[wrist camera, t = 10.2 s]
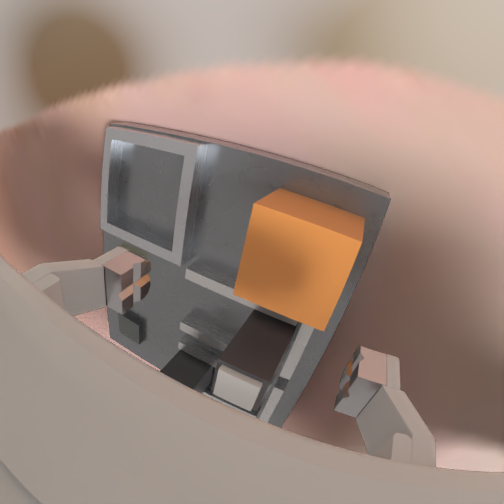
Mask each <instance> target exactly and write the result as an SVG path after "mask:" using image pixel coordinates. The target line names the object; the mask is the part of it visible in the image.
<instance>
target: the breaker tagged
mask: <svg viewBox="0 0 504 504" xmlns="http://www.w3.org/2000/svg"><path fill="white" fill-rule="evenodd" d="M297 325H298V324H297ZM297 325H296V326H294V325H291V324H289V323H287V322H284V321H282V320H279V319H277V318H274V317H272V316H270V315H267V314H265V313H262V312H260V311H258V310H255V309H254V310H253V312H252V313H251V314H250V316H249V317H248V318H247V320H246V321H245V323H244V324H243V325H242V327H241V328H240V329H239V331H238V332H237V333H236V335H235V336H234V337H233V339H232V340H231V342H230V343H229V344H228V346H227V347H226V348H225V350H224V351H223V352H222V354H221V355H220V356H219V358H218V360H217V365H216V369H215V374H214V379H213V383H212V388H211V390H212V391H214V392H213V394H214V395H216V396H218V397H220V398H223V399H225V400H227V401H229V402H231V403H233V404H235V405H237V406H240V407H242V408H244V409H246V410H248V411H251V410H252V409H253V410H255V411H257V410H258V408H259V406H260V404H261V402H262V400H263V398H264V396H265V394H266V392H267V390H268V388H269V386H270V384H271V382H272V380H273V378H274V376H275V374H276V372H277V370H278V368H279V366H280V364H281V362H282V360H283V358H284V356H285V353H286V351H287V349H288V346H289V344H290V342H291V339H292V337H293V334H294V332H295V329H296V327H297Z"/></svg>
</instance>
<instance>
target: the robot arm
mask: <svg viewBox="0 0 504 504" xmlns="http://www.w3.org/2000/svg"><path fill="white" fill-rule="evenodd" d="M150 271H151V262H150V261H149V260H148V259H146V258H144V257H142V256H140V255H138V254H136V253H134V252H132V251H129V250H127V249H125V248H123V247H116V248H114V249H112V250H111V251H109V252H107V253H105V254H103V255H101V256H99V257H97V258H95V259H94V260H91V259H82V260H72V261H61V262H50V263H40V264H38V265H37V266H35V267H33V268H31V269H29V270H27V271H25V272H23V273H22V274H21V273H20V272H18V271H17V270H16V269H15V268H14V267H13V266H12V265H11V264H10V263H9V262H8V261H6V260H5V259H4V258H3V257H2V256H1V255H0V504H504V472H482V471H467V470H455V469H446V468H438V467H436V440H435V438H434V437H433V435H432V434H431V432H430V431H429V429H428V427H427V426H426V424H425V423H424V421H423V420H422V418H421V417H420V415H419V413H418V412H417V410H416V409H415V407H414V406H413V404H412V403H411V401H410V400H409V398H408V397H407V395H406V394H405V392H404V391H401V390H400V362H399V358H398V357H396V356H392V355H389V354H384V353H381V352H378V351H375V350H372V349H369V348H366V347H363V346H360V345H359V346H358V348H357V349H356V351H355V352H354V356H353V361H351V362H349V363H348V364H347V366H346V368H345V370H344V372H343V374H342V377H341V380H340V384H339V388H340V390H341V391H340V392H339V394H338V395H337V398H336V403H335V407H334V411H337V412H340V413H343V414H346V415H349V416H352V417H355V418H356V422H357V424H358V427H359V430H360V433H361V435H362V438H363V441H364V444H365V447H366V449H367V452H368V454H364V453H360V452H356V451H352V450H348V449H345V448H341V447H337V446H334V445H331V444H327V443H324V442H321V441H317V440H314V439H311V438H308V437H305V436H302V435H299V434H296V433H293V432H291V431H288V430H285V429H282V428H280V427H277V426H274V425H272V424H269V423H267V422H264V421H262V420H259V419H257V418H254V417H252V416H249V415H247V414H245V413H242V412H240V411H238V410H235V409H233V408H231V407H229V406H227V405H224V404H222V403H220V402H218V401H216V400H214V399H211V398H209V397H207V396H205V395H203V394H201V393H199V392H197V391H195V390H193V389H191V388H189V387H187V386H185V385H183V384H182V383H180V382H178V381H176V380H174V379H172V378H170V377H168V376H167V375H165V374H163V373H161V372H159V371H158V370H156V369H154V368H152V367H151V366H149V365H147V364H145V363H144V362H142V361H140V360H139V359H137V358H135V357H134V356H132V355H131V354H129V353H127V352H126V351H124V350H122V349H121V348H119V347H118V346H116V345H115V344H113V343H112V342H110V341H109V340H107V339H106V338H104V337H103V336H101V335H100V334H98V333H97V332H95V331H94V330H92V329H91V328H89V327H88V326H87V325H85V324H84V323H82V322H81V321H80V320H78V319H77V318H75V317H74V316H75V315H79V314H82V313H86V312H90V311H93V310H97V309H101V308H104V307H106V306H108V307H109V308H111V309H113V310H115V311H116V312H118V313H120V314H122V315H123V314H124V313H126V312H127V311H128V310H129V309H131V308H132V307H133V305H134V302H137V301H141V300H142V299H143V298H145V296H146V295H147V293H148V292H149V288H150V281H151V280H150V278H149V276H148V273H149V272H150Z"/></svg>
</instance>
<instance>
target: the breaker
mask: <svg viewBox="0 0 504 504" xmlns="http://www.w3.org/2000/svg"><path fill="white" fill-rule="evenodd" d="M212 371H213V366H211V365H209V364H207V363H205V362H203V361H201V360H199V359H198V358H196V357H194V356H192V355H190V354H188V353H186V352H184V351H182V350H180V351H179V352H178V353H177V354H176V355H175V356H174V357H173V358H172V359H171V360H170V361H169V362H168V363H167V364H166V365H165V367H164V368H163V369H162V370H161V371H160V372H161V373H163V374H165V375H167V376H168V377H170V378H172V379H174V380H176V381H178V382H180V383H182V384H183V385H185V386H187V387H189V388H191V389H193V390H195V391H197V392H199V393H201V394H202V393H203V392H204V391H205V389H206V388H207V386H208V385H209V384H210V381H211V376H212Z"/></svg>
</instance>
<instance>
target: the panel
mask: <svg viewBox="0 0 504 504" xmlns="http://www.w3.org/2000/svg"><path fill="white" fill-rule="evenodd" d="M279 188H281V189H284V190H287V191H290V192H293V193H296V194H299V195H302V196H305V197H308V198H311V199H314V200H317V201H320V202H322V203H325V204H328V205H331V206H334V207H336V208H339V209H342V210H345V211H347V212H350V213H353V214H355V215H358V216H361V217H363V218H365V222H364V231H363V240H362V244H361V247H360V249H359V252H358V254H357V257H356V259H355V262H354V264H353V267H352V269H351V272H350V274H349V276H348V279H347V281H346V283H345V286H344V288H343V290H342V293H341V295H340V297H339V299H338V302H337V304H336V306H335V308H334V311H333V313H332V315H331V317H330V319H329V322H328V324H327V326H326V328H325V330H324V331H321V330H318V329H316V328H313V327H311V326H308V325H306V324H303V323H301V322H298V321H296V320H293V319H291V318H288V317H286V316H283V315H281V314H279V313H276V312H274V311H271V310H269V309H266V308H264V307H262V306H259V305H257V304H255V303H252V302H250V301H247V300H245V299H243V298H240V297H238V296H236V295H234V294H233V292H234V287H235V283H236V279H237V274H238V270H239V265H240V261H241V257H242V252H243V248H244V243H245V239H246V235H247V230H248V226H249V222H250V217H251V213H252V209H253V204H254V203H255V202H256V201H258V200H260V199H262V198H263V197H265V196H267V195H269V194H270V193H272V192H274V191H276V190H278V189H279ZM390 200H391V198H390V195H389V193H388V192H386V191H383V190H381V189H378V188H375V187H373V186H370V185H367V184H365V183H362V182H359V181H356V180H354V179H351V178H348V177H345V176H342V175H339V174H336V173H334V172H331V171H328V170H325V169H321V168H318V167H315V166H312V165H309V164H306V163H303V162H299V161H296V160H293V159H289V158H286V157H283V156H279V155H276V154H272V153H269V152H265V151H261V150H258V149H254V148H250V147H246V146H242V145H239V144H235V143H231V142H226V141H222V140H218V139H214V138H209V137H205V136H200V135H196V134H191V133H186V132H181V131H176V130H171V129H166V128H161V127H155V126H149V125H143V124H137V123H131V122H119V123H110V127H106V133H105V142H104V153H103V166H102V183H101V219H100V229H102V230H103V233H104V254H105V253H107V252H109V251H111V250H112V249H114V248H116V247H123V248H125V249H127V250H129V251H132V252H134V253H136V254H138V255H140V256H142V257H144V258H146V259H148V260H149V261H150V262H151V271H150V272H149V273H148V276H149V278H150V280H151V281H150V288H149V292H148V293H147V295H146V296H145V298H143V299H142V300H141V301H137V302H134V305H133V307H132V308H131V309H129V310H128V311H127V312H126V313H124V314H123V315H122V314H120V313H118V312H116V311H115V310H113V309H111V308H109V307H108V306H107V312H108V321H109V330H110V337H111V338H112V339H113V340H115V341H116V342H118V343H119V344H121V345H122V346H124V347H125V348H127V349H129V350H130V351H132V352H133V353H135V354H136V355H138V356H140V357H141V358H143V359H144V360H146V361H148V362H149V363H151V364H153V365H154V366H156V367H158V368H159V369H161V370H162V369H163V368H164V367H165V365H166V364H167V363H168V362H169V361H170V360H171V359H172V358H173V357H174V356H175V355H176V354H177V353H178V352H179V351H180V350H182V351H184V352H186V353H188V354H190V355H192V356H194V357H196V358H198V359H199V360H201V361H203V362H205V363H207V364H209V365H211V366H213V371H212V376H211V381H210V384H209V385H208V386H207V388H206V389H205V391H204V392H203V393H202V394H203V395H205V396H207V397H209V398H211V399H214V400H216V401H218V402H220V403H222V404H224V405H227V406H229V407H231V408H233V409H235V410H238V411H240V412H242V413H245V414H247V415H249V416H252V417H254V418H258V419H259V420H262V421H264V422H267V423H270V424H272V425H274V426H277V427H280V428H281V426H282V425H283V423H284V422H285V420H286V418H287V417H288V415H289V413H290V412H291V410H292V409H293V407H294V405H295V404H296V402H297V400H298V398H299V397H300V395H301V393H302V392H303V390H304V388H305V386H306V385H307V383H308V381H309V379H310V377H311V376H312V374H313V372H314V370H315V368H316V367H317V365H318V363H319V361H320V359H321V357H322V355H323V353H324V352H325V350H326V348H327V346H328V344H329V342H330V340H331V338H332V336H333V334H334V332H335V330H336V328H337V326H338V324H339V322H340V320H341V318H342V316H343V314H344V312H345V309H346V307H347V305H348V303H349V301H350V299H351V297H352V294H353V292H354V290H355V288H356V285H357V283H358V281H359V279H360V276H361V274H362V272H363V269H364V267H365V265H366V262H367V260H368V258H369V255H370V253H371V250H372V248H373V245H374V243H375V240H376V238H377V235H378V233H379V230H380V227H381V225H382V222H383V219H384V217H385V214H386V211H387V209H388V206H389V203H390ZM254 309H255V310H258V311H260V312H262V313H265V314H267V315H270V316H272V317H274V318H277V319H279V320H282V321H284V322H287V323H289V324H291V325H294V326H296V325H297V324H298V325H297V327H296V329H295V332H294V334H293V337H292V339H291V342H290V344H289V346H288V349H287V351H286V353H285V356H284V358H283V360H282V362H281V364H280V366H279V368H278V370H277V372H276V374H275V376H274V378H273V380H272V382H271V384H270V386H269V388H268V390H267V392H266V394H265V396H264V398H263V400H262V402H261V404H260V406H259V408H258V410H257V411H255V410H253V409H252V410H251V411H248V410H246V409H244V408H242V407H240V406H237V405H235V404H233V403H231V402H229V401H227V400H225V399H223V398H220V397H218V396H216V395H214V394H213V392H214V391H212V390H211V388H212V383H213V379H214V374H215V369H216V365H217V360H218V358H219V356H220V355H221V354H222V352H223V351H224V350H225V348H226V347H227V346H228V344H229V343H230V342H231V340H232V339H233V337H234V336H235V335H236V333H237V332H238V331H239V329H240V328H241V327H242V325H243V324H244V323H245V321H246V320H247V318H248V317H249V316H250V314H251V313H252V312H253V310H254Z"/></svg>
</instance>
